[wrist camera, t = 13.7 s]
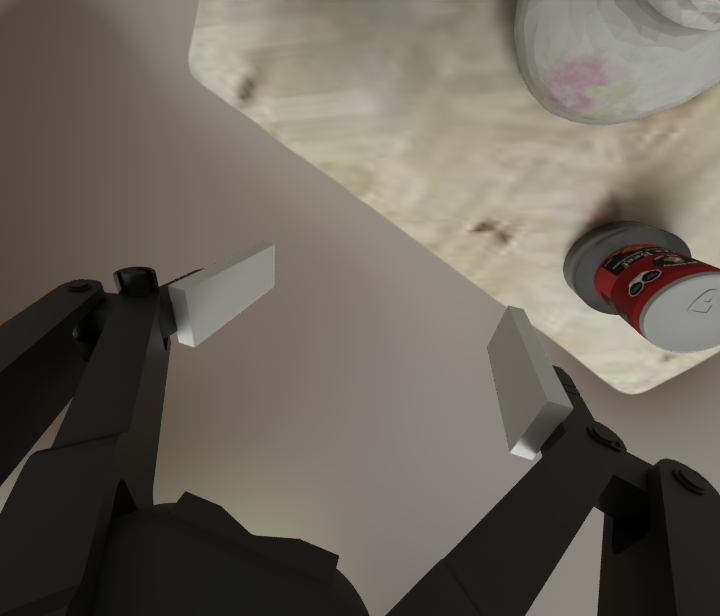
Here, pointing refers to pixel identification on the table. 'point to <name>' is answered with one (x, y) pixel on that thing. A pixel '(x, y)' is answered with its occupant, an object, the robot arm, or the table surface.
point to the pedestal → (602, 244)
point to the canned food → (663, 296)
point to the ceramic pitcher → (616, 55)
